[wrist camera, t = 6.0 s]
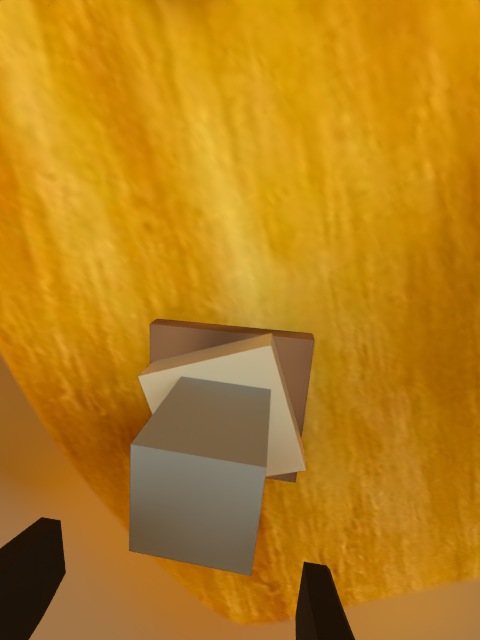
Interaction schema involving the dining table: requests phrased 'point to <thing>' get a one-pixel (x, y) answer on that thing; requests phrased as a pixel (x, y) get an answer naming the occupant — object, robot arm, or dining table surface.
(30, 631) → the robot arm
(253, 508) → the block
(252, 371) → the slab upper
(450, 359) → the dining table surface
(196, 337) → the slab lower
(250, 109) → the dining table surface
